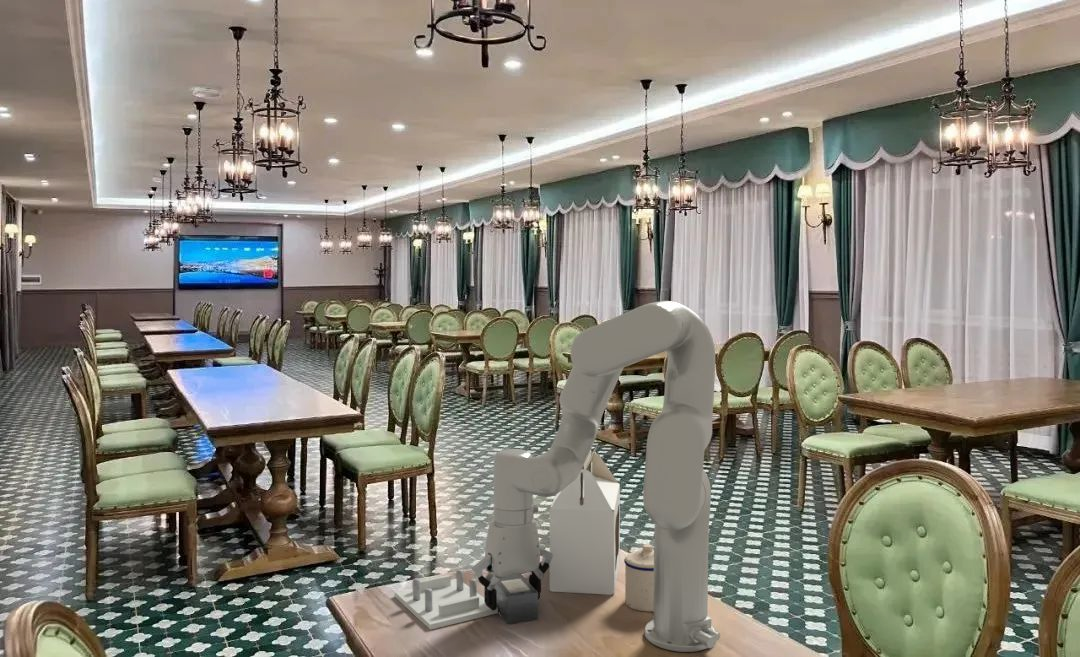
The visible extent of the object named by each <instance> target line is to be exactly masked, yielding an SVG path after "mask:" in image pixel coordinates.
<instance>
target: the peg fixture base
mask: <svg viewBox="0 0 1080 657" xmlns="http://www.w3.org/2000/svg"><path fill="white" fill-rule="evenodd" d="M455 572H456V574H455V575H456V578H453V579H451V575H449V574H445V575H441V576H440V575H439V576H437V577H436V576H435V577H430V578H426V579H421V578H419V577H415V578H413V579H412V584H411V588H405V589H401V590H396V591H394V598H396V600H398V601H399V603H401V604H402V605H403V606H404V607H405V608H406V609H408V611H410V612H411V613H412V615H414V616H415V618H417V619H418V620H419V621H420V622H421V623H422V624H423V625H425V627H427V629H429V630H430V631H431V630H435V629H439V628H444V627H448V626H451V625H454V624H455V625H456V624H459V623H464V622H467V621H471V620H475V619H480V618H483V617H488V616H492V615H496V614H499V613H498V608H497V609H496V610H491V609H490V608H489V607H487V606H486V604H485V601H484V596H482V595H481V594H480V593H478V592H477V591H478V588H477V587H478V586H477V585H478V584H477V583H478V581H477V580H476V578H470V579H469V582H468V583H469V585H468V584H466V583H465V582H464V569H460V568H459V569H457V570H455Z"/></svg>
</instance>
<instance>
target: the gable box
mask: <svg viewBox="0 0 1080 657" xmlns="http://www.w3.org/2000/svg"><path fill="white" fill-rule="evenodd" d="M598 447H599V444H596V445H595V448H594V449H593V450H592V449H591V450H590V453H589V455H588V457H587V459H586V461H585V464H584V466H583V468H582V470H581V472H580V474H579V475H578V477H577V478H576V479H575V480H574V481H573V482H572V483H571V484H569V485H568V486H567V487H566V488H564V489H563V490H562V491H561V492H559V493H558V494H556V495H554V496H555V497H554V499H553V501H552V503H551V505H550V507H549V509H548V510H549V552H551V553H552V554H553V557H552V559H551V562H550V563H549V592H551V593H568V594H569V593H571V594H589V595H604V596H605V595H607V596H613V595H615V593H616V592H615V591H616V585H617V579H618V578H617V577H618V571H619V565H620V559H621V558H620V557H621V556H620V555H621V553H620V551H621V549H620V548H621V546H620V542H621V539H620V538H621V537H620V536H621V532H620V530H621V528H620V527H621V520H620V519H621V512H620V510H621V506H620V505H621V504H620V503H621V499H620V498H621V485H620V483H619V482H618V481H617V479H616V478H615V476H614V474H613V473H612V472H611V470H610V468H609V467H608V466H607V464H606V462H605V461H604V459H603V458H602V457H601V455H600V454H599V453H598V452H596V451H597V449H598Z"/></svg>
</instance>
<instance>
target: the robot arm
mask: <svg viewBox="0 0 1080 657" xmlns="http://www.w3.org/2000/svg"><path fill="white" fill-rule="evenodd" d="M709 329H710V328H708V326H707V324H706V322H705V321H704V320H703V319H702V318H701V316H699V314H697V313H696V312H695V311H693V310H692V309H691V308H689V307H687V306H686V305H683V304H681V303H679V302H675V301H671V300H661V301H655V302H649V303H645V304H643V305H640V306H637V307H635V308H634V309H632V310H629V311H627V312H625V313H622V314H620V315H617V316H615V317H613V318H611V319H608V320H606V321H604V322H602V323H599V324H596V325H593V326H591V327H588V328H586V329H583V330H581V332H579V333H578V334H577V335H576V337H575V338H574V340H572V344H571V347H570V360H571V362H572V364H573V365H572V368H571V370H570V372H569V375H568V377H567V379H566V382H565V384H564V386H563V388H562V390H561V392H560V395H559V405H560V408H561V411H562V416H561V417H562V418H561V421H560V424H559V427H558V430H557V433H556V435H555V437H554V439H553V441H552V444H551V446H550V448H549V449H548V451H546V452H544V453H543V454H540V455H537V456H533V455H532V453H531V452H530V451H528V450H525V449H521V448H508V449H507V448H506V449H502V450H499V451H498V452H496V453H495V454H494V457H493V521H489V524H488V529H487V532H486V533H487V534H486V540H485V549H484V557H483V558H482V559H481V560H479V561H478V562H476V563H475V564H474V565H473V566H472V567H471V568H470V569H471V572H472V574H473V575H474V577H475V579H476V580H477V582H478V583H480V584H481V585H482V586H483V587H484V588H483V591H484V592H483V593H484V594H483V595H484V596H483V597H484V601H485V604H486V606H487V607H489V608H490V609H491V610H496V609H497V591H496V589H494V587H495V585H496V584H497V582H498V581H499V579H500V578H505V577H510V576H515V575H519V574H522V575H523V574H528V573H531V574H529V576H528V582H529V583H530V584H531V585H532V586H533V588H534V589H535V590H536V591H537V592H538V601H539V600H541V593H542V580H543V579H544V577H545V573H546V572H547V570H548V569H550V562H551V559H552V557H553V554H552V553H551V552H550V550H547V549H544V548H542V547H540V537H539V532H538V531H539V530H538V526H537V521H536V519H534V514H535V513H538V512H539V506H538V505H537V504H534V496H538V497H543V498H549V497H550V498H551V497H554V496H556V494H558V493H559V492H561V491H562V490H563V489H564V488H566V487H567V486H568V485H569V484H571V483H572V482H573V481H574V480H575V479H576V478H577V477H578V475H579V474H580V472H581V470H582V468H583V466H584V464H585V461H586V459H587V457H588V455H589V453H590V450H591V451H592V447H593V445H594V444H595V443H594V442H595V441H596V438H597V435H598V434H597V433H598V431H599V427H600V425H601V421H602V417H603V414H604V411H605V410H606V408H607V404H608V403H609V401H610V398H611V396H612V394H613V393H614V392H613V391H614V389H615V388H616V385H617V383H618V380H619V379H620V377H621V375H622V372H623V370H624V368H625V367H629V366H632V365H633V364H636V363H638V362H641V361H644V360H646V359H648V358H651V357H654V356H656V355H659V354H661V353H664V352H666V356H667V365H666V371H665V376H664V378H665V379H664V396H663V403H662V404H663V405H662V410H661V412H660V413H659V414H658V415H657V416H656V417H655V418H654V420H652V423H651V425H650V426H649V430H648V434H647V441H646V450H645V463H644V465H645V466H644V476H643V478H644V479H643V480H644V481H643V490H642V497H643V498H642V500H643V501H642V502H643V507H644V510H645V512H646V514H647V516H648V518H649V519H650V520H651V521H652V523H653V524H654V530H653V531H654V535H653V549H654V612H653V617H652V618H653V619H651V620H650V621H648V622H647V623H646V625H645V626H644V636H645V638H646V640H647V641H649V643H651V644H652V645H654V646H656V647H659V648H660V649H664V650H668V651H673V652H681V653H689V652H690V653H692V652H700V651H703V650H707V649H712V648H714V646H715V645H716V641H718V640H720V638H721V633H720V632H718V631H716V630H715V628H714V627H713V626H712V617H710V616H708V608H709V607H708V605H709V603H708V602H709V601H708V600H709V545H710V544H709V543H710V542H709V538H710V537H709V536H710V533H709V532H710V515H711V514H710V513H711V503H712V502H711V501H712V489H711V488H712V487H711V484H710V483H711V482H710V479H709V476H708V475H707V472H706V471H705V470H704V463H705V462H704V460H705V450H706V449H707V447H708V445H709V444H710V443H711V439H712V436H713V412H714V401H715V400H714V399H715V378H716V377H715V375H716V349H715V348H716V347H715V342H714V339H713V336H712V333H711V331H710V330H709ZM541 556H542V558H541ZM484 570H485V571H486V572H487V573H486V574H485V575H484V574H483V571H484Z"/></svg>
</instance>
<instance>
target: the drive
mask: <svg viewBox="0 0 1080 657" xmlns="http://www.w3.org/2000/svg"><path fill="white" fill-rule="evenodd" d="M494 589H496V591H497V608H498V613H497V614H499V615H500V617H501V618H502V619H503V621H504V622H505V624H506V625H507V626H509V625H514V624H523V623H529V622H535V621H539V600H538V592H537V591H536V590H535V589H534V588H533V586H532V585H531V584H530V583H529V580H527V579H526V577H525V576H524V575H523V574H519V575H515V576H510V577H505V578H500V579H499V581H498V582H497V584H496V585H495V587H494Z"/></svg>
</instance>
